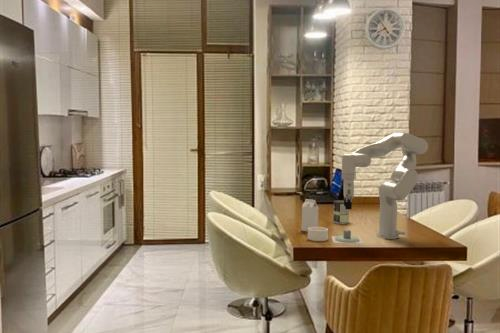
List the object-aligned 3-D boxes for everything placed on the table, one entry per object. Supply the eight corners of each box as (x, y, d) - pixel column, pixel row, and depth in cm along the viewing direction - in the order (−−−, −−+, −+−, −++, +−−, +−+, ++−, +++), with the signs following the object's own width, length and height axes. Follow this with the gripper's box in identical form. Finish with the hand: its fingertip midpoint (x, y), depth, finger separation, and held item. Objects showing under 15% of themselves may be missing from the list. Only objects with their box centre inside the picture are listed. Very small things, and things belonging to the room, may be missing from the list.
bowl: (327, 237, 277) (327, 227, 276) (328, 242, 266) (328, 231, 265) (307, 237, 278) (307, 226, 277) (307, 241, 267) (308, 230, 267)
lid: (357, 237, 276) (357, 228, 276) (360, 242, 263) (360, 233, 263) (334, 236, 277) (334, 228, 277) (335, 241, 264) (336, 232, 264)
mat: (360, 237, 277) (360, 237, 277) (363, 244, 261) (363, 243, 261) (331, 236, 279) (331, 236, 279) (333, 243, 263) (333, 242, 263)
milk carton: (307, 229, 300) (308, 198, 299) (317, 230, 296) (318, 199, 294) (301, 230, 295) (302, 199, 293) (311, 232, 290) (312, 200, 289)
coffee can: (331, 223, 321) (332, 201, 320) (334, 220, 330) (335, 199, 329) (347, 224, 317) (348, 202, 316) (349, 221, 327) (350, 200, 326)
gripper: (357, 178, 259) (356, 210, 260) (353, 175, 276) (353, 205, 277) (342, 178, 260) (341, 210, 261) (340, 175, 277) (339, 205, 278)
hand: (347, 207), depth 269 cm, fingers open, 9 cm apart
